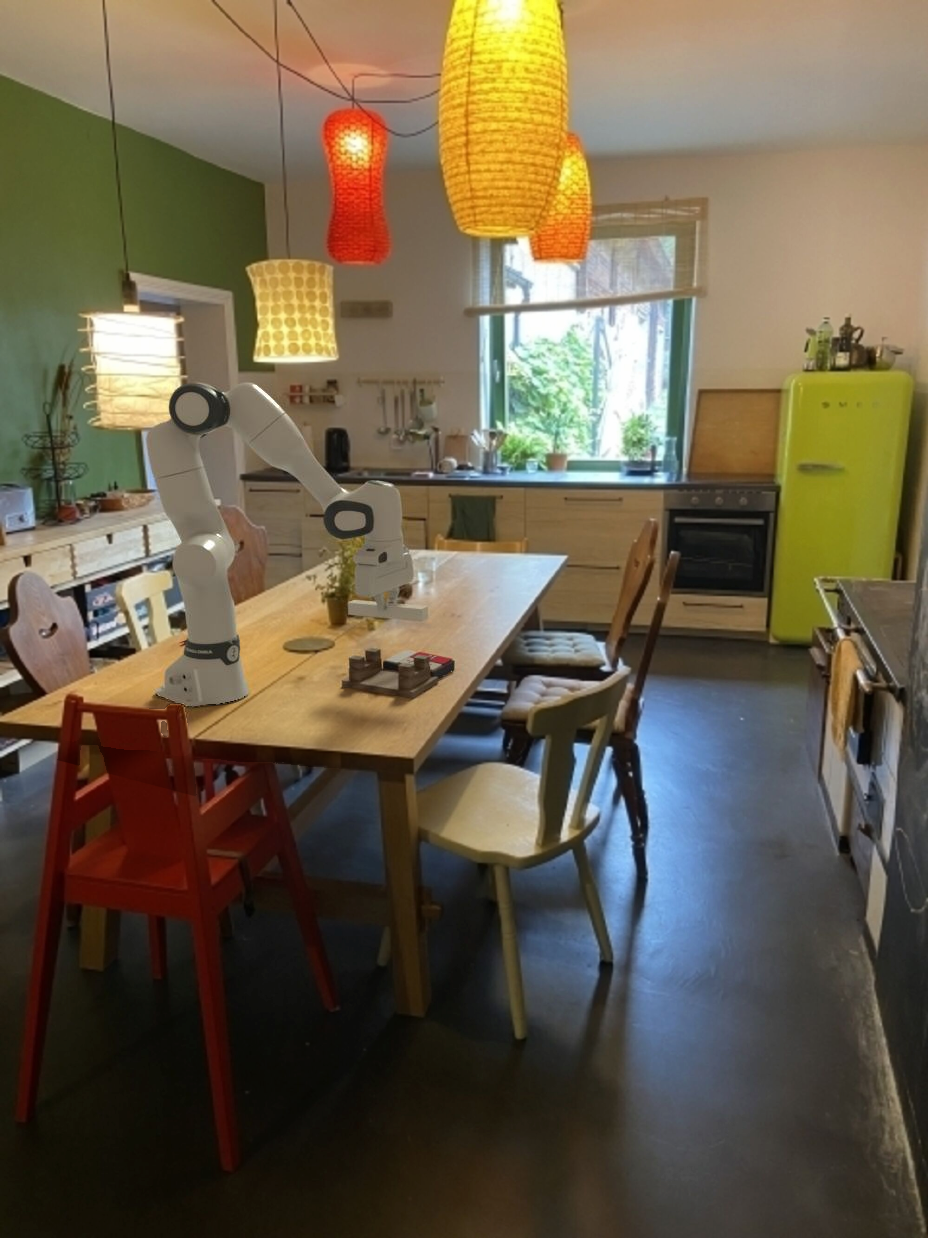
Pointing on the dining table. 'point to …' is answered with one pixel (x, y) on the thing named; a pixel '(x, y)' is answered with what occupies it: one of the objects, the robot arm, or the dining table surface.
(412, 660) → the calculator
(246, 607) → the dining table surface
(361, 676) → the rack
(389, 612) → the clay strip
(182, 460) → the robot arm
